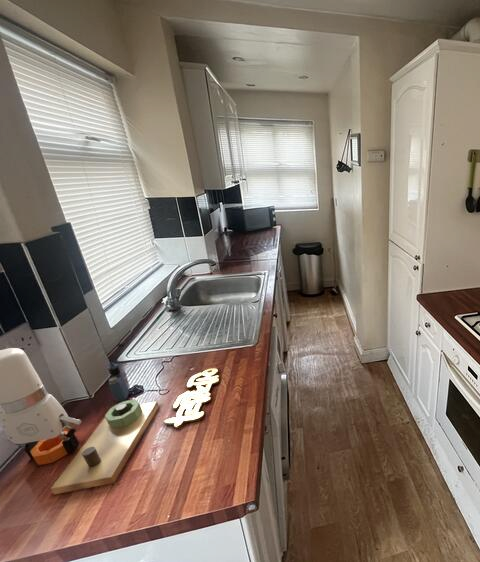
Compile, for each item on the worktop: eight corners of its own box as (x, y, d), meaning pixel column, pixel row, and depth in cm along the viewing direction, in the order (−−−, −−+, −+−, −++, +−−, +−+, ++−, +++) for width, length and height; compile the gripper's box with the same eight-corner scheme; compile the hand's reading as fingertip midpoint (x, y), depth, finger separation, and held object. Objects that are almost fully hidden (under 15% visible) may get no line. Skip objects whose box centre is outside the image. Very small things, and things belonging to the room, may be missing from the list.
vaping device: (130, 390, 99) (118, 360, 95) (125, 401, 95) (111, 370, 90) (121, 392, 98) (107, 362, 94) (115, 404, 94) (100, 372, 89)
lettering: (194, 372, 107) (193, 370, 106) (224, 368, 108) (224, 366, 108) (161, 430, 84) (160, 428, 84) (200, 424, 85) (199, 422, 85)
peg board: (53, 494, 69) (42, 476, 66) (114, 413, 90) (107, 397, 88) (114, 482, 71) (104, 464, 68) (159, 406, 93) (153, 390, 90)
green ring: (103, 430, 82) (99, 422, 81) (118, 410, 89) (114, 402, 88) (133, 425, 84) (130, 417, 82) (146, 406, 90) (142, 398, 89)
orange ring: (28, 467, 75) (22, 458, 74) (50, 442, 82) (45, 434, 80) (62, 460, 76) (57, 452, 75) (81, 437, 83) (76, 428, 82)
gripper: (-38, 417, 67) (2, 472, 74) (54, 403, 70) (85, 457, 77) (-6, 393, 74) (28, 445, 81) (76, 381, 77) (103, 432, 84)
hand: (55, 451), depth 79 cm, fingers closed on orange ring, 7 cm apart
